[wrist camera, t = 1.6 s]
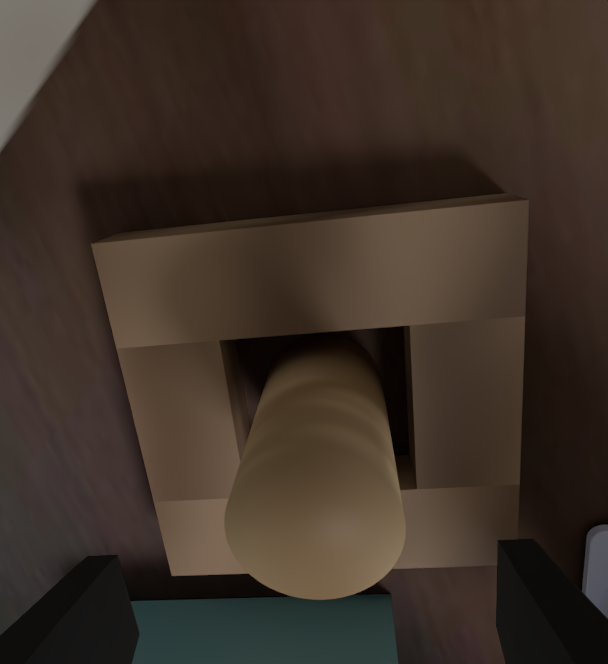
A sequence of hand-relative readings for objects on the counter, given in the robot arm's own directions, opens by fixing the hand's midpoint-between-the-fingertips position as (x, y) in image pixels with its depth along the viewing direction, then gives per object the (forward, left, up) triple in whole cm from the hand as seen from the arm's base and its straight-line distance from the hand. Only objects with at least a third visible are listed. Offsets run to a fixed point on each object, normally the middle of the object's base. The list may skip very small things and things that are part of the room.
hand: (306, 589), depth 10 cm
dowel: (0, 0, -9) cm, 9 cm away
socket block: (0, 0, -9) cm, 9 cm away
